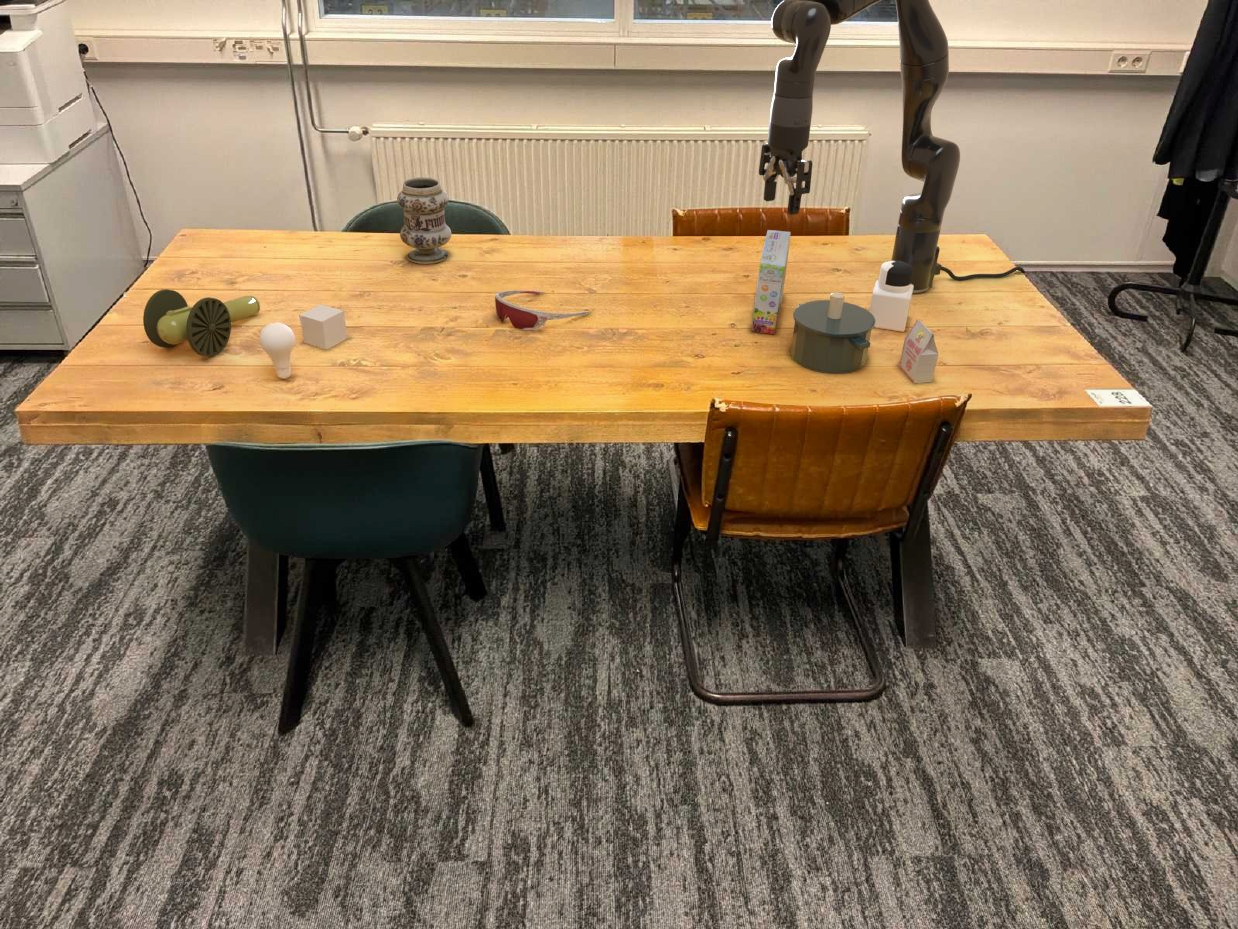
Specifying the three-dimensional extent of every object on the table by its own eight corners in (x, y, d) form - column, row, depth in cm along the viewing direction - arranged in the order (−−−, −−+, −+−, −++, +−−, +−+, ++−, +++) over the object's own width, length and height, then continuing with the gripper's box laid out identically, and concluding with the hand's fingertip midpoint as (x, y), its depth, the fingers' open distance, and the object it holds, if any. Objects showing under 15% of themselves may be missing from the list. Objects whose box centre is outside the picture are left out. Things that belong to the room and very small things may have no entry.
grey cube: (326, 349, 186) (321, 321, 182) (304, 342, 188) (298, 315, 185) (348, 338, 190) (343, 310, 187) (325, 331, 193) (320, 304, 189)
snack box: (777, 335, 194) (786, 266, 186) (750, 332, 195) (757, 263, 187) (783, 295, 212) (791, 229, 203) (758, 292, 213) (765, 227, 204)
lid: (841, 300, 192) (846, 274, 189) (891, 331, 180) (896, 303, 177) (777, 313, 186) (780, 286, 183) (823, 345, 174) (828, 317, 171)
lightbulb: (271, 370, 178) (260, 317, 172) (305, 370, 179) (294, 316, 172) (264, 386, 173) (252, 331, 167) (298, 385, 173) (287, 331, 167)
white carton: (916, 365, 184) (926, 318, 179) (932, 381, 179) (942, 333, 173) (899, 366, 184) (908, 319, 178) (913, 383, 178) (924, 335, 173)
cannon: (232, 308, 201) (220, 257, 195) (279, 317, 198) (268, 266, 191) (145, 358, 181) (129, 303, 175) (195, 369, 178) (181, 314, 172)
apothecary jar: (448, 266, 222) (442, 190, 212) (397, 265, 222) (388, 189, 212) (456, 248, 232) (451, 175, 223) (408, 247, 232) (400, 173, 223)
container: (907, 317, 203) (918, 260, 196) (904, 332, 197) (916, 273, 189) (870, 312, 205) (880, 255, 198) (866, 326, 199) (876, 268, 192)
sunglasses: (477, 313, 200) (478, 290, 198) (535, 303, 212) (537, 282, 210) (532, 339, 191) (535, 315, 188) (590, 327, 203) (593, 304, 200)
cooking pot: (828, 329, 197) (833, 294, 193) (889, 371, 182) (897, 333, 178) (769, 342, 192) (773, 305, 188) (827, 385, 177) (833, 347, 173)
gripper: (829, 127, 169) (817, 216, 178) (786, 109, 180) (777, 193, 189) (794, 131, 167) (784, 221, 176) (752, 112, 177) (745, 198, 186)
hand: (780, 206), depth 182 cm, fingers open, 8 cm apart
